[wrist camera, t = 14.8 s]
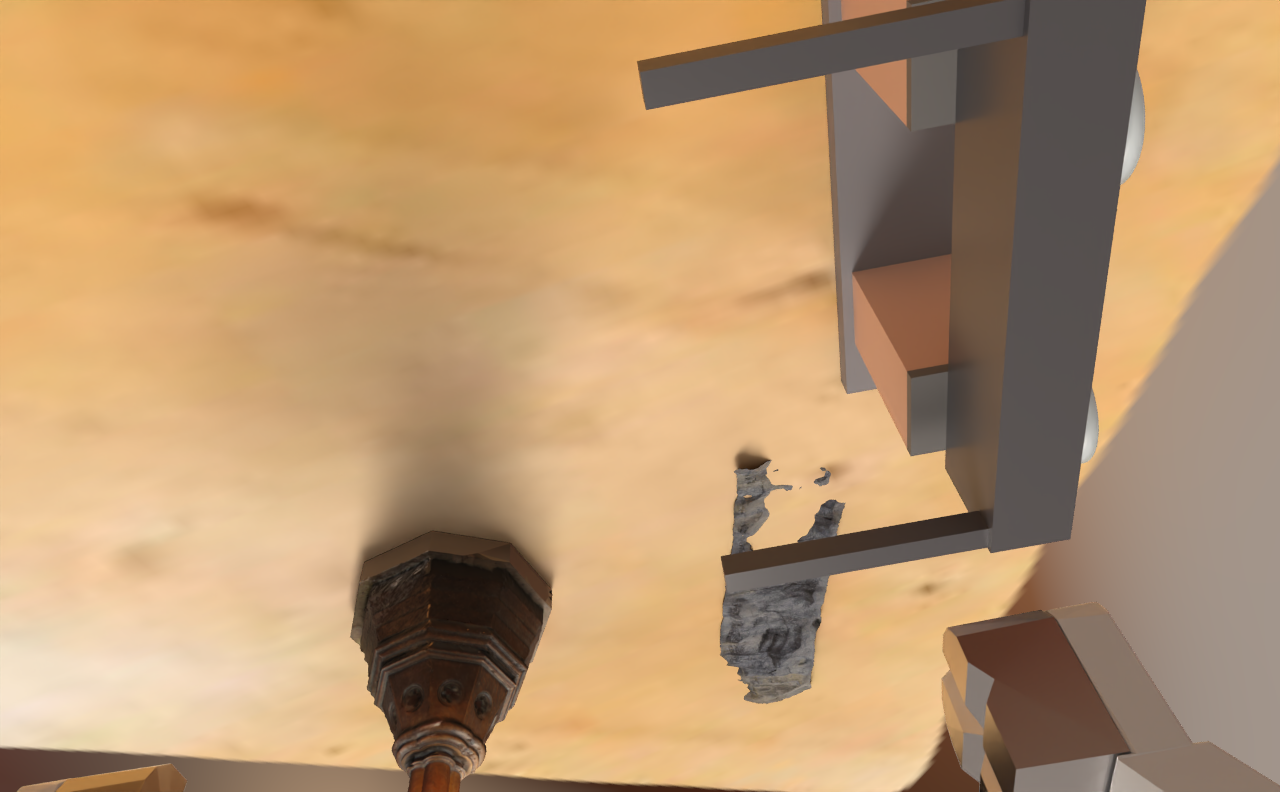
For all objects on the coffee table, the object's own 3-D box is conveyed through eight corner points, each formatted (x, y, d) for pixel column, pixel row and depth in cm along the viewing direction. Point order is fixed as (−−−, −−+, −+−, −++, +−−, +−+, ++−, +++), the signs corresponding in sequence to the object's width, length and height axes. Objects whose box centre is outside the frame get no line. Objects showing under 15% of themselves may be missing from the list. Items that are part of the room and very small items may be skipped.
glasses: (710, 510, 40) (728, 599, 35) (627, 25, 28) (640, 75, 24) (1030, 452, 39) (1086, 536, 35) (1081, -65, 27) (1173, -30, 23)
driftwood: (805, 690, 64) (813, 717, 63) (706, 695, 64) (710, 722, 62) (854, 447, 52) (864, 471, 51) (732, 450, 52) (738, 475, 50)
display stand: (841, 380, 49) (899, 510, 40) (813, -141, 35) (894, -103, 26) (975, 356, 48) (1060, 482, 40) (1001, -179, 34) (1141, -152, 26)
